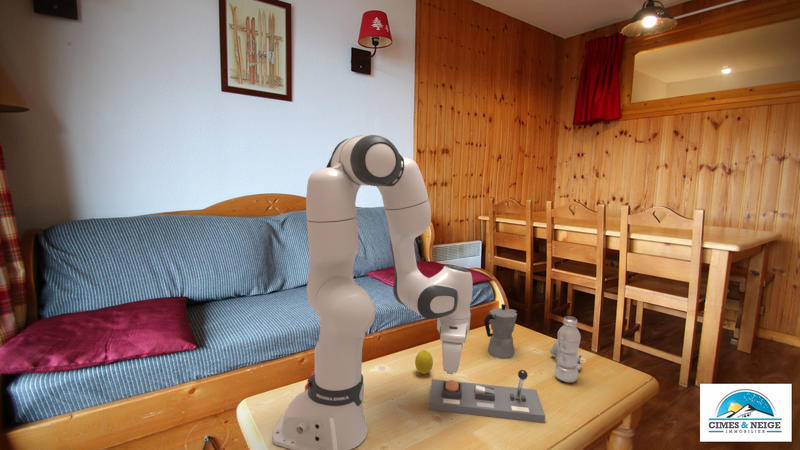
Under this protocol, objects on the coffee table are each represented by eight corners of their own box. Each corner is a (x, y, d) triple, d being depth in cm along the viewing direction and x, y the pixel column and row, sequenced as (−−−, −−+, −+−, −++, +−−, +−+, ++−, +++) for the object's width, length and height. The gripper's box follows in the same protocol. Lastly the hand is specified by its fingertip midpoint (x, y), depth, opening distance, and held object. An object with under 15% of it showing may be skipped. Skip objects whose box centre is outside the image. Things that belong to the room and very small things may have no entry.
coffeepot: (503, 343, 144) (506, 297, 142) (523, 353, 136) (527, 305, 134) (473, 353, 136) (475, 304, 133) (492, 364, 128) (495, 313, 126)
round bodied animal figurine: (565, 379, 125) (573, 361, 121) (545, 350, 135) (552, 333, 131) (584, 376, 127) (593, 358, 122) (563, 348, 137) (571, 331, 132)
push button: (445, 393, 106) (445, 386, 106) (445, 386, 110) (445, 379, 110) (458, 394, 106) (458, 388, 105) (458, 387, 109) (458, 381, 109)
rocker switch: (475, 392, 106) (476, 388, 106) (475, 388, 108) (475, 385, 108) (493, 397, 105) (494, 393, 105) (492, 392, 107) (493, 389, 107)
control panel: (428, 409, 103) (428, 397, 103) (431, 385, 115) (432, 374, 114) (544, 422, 99) (545, 409, 98) (535, 396, 110) (536, 384, 110)
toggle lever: (513, 401, 105) (519, 375, 98) (512, 393, 107) (518, 367, 100) (522, 402, 104) (528, 376, 98) (521, 394, 106) (527, 368, 99)
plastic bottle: (573, 388, 115) (578, 324, 112) (550, 379, 119) (555, 318, 117) (580, 379, 120) (586, 318, 117) (558, 372, 124) (563, 313, 121)
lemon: (431, 379, 118) (432, 355, 117) (413, 377, 119) (414, 353, 118) (433, 370, 123) (434, 347, 122) (416, 368, 124) (417, 345, 123)
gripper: (443, 310, 116) (440, 353, 117) (440, 337, 95) (436, 389, 97) (464, 312, 115) (461, 356, 116) (465, 340, 95) (461, 392, 96)
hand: (449, 371), depth 107 cm, fingers closed
